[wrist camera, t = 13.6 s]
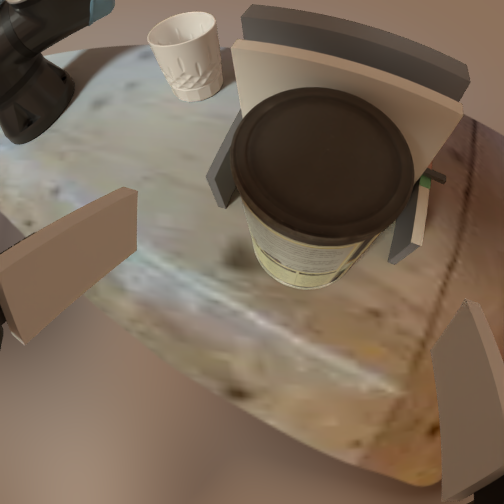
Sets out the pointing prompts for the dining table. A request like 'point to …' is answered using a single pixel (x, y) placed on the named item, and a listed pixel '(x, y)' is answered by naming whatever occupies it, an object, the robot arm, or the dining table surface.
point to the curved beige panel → (354, 82)
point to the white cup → (188, 54)
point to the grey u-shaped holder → (360, 51)
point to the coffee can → (318, 181)
